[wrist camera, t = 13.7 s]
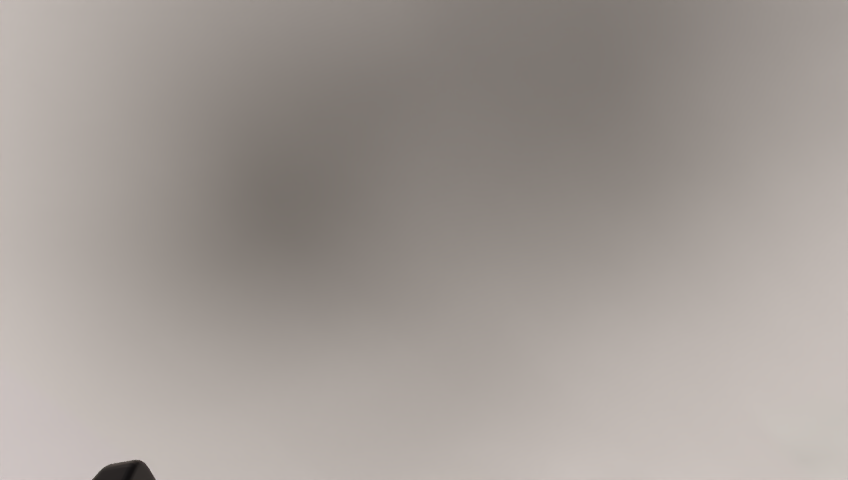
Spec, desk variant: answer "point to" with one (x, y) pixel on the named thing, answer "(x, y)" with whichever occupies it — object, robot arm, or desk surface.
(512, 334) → the desk surface
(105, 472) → the robot arm
